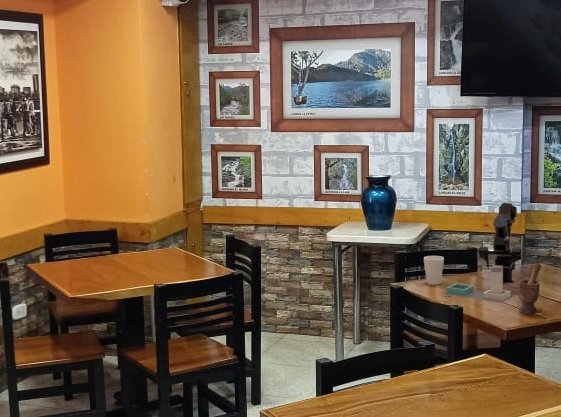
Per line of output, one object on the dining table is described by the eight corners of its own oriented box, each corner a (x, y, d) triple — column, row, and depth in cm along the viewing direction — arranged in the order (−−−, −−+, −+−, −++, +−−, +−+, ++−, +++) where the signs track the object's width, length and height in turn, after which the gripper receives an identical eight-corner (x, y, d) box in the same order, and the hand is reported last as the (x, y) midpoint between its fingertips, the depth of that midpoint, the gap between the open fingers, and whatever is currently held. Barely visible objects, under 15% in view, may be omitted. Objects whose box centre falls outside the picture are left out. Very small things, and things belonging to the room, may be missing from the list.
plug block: (492, 295, 363) (492, 265, 361) (502, 296, 362) (502, 265, 359) (491, 298, 359) (491, 267, 357) (501, 299, 357) (501, 268, 355)
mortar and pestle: (521, 306, 348) (522, 261, 345) (542, 308, 344) (543, 262, 341) (515, 313, 338) (516, 266, 335) (536, 316, 334) (537, 268, 331)
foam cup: (442, 281, 395) (442, 255, 393) (444, 286, 386) (444, 259, 384) (423, 281, 396) (423, 255, 394) (424, 286, 387) (424, 260, 385)
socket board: (442, 295, 370) (442, 288, 369) (457, 289, 380) (457, 282, 380) (500, 304, 352) (501, 297, 351) (514, 297, 363) (514, 290, 362)
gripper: (479, 229, 370) (475, 257, 361) (521, 230, 363) (519, 259, 355) (481, 243, 378) (477, 271, 370) (522, 244, 372) (520, 273, 363)
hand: (498, 268), depth 364 cm, fingers open, 9 cm apart
